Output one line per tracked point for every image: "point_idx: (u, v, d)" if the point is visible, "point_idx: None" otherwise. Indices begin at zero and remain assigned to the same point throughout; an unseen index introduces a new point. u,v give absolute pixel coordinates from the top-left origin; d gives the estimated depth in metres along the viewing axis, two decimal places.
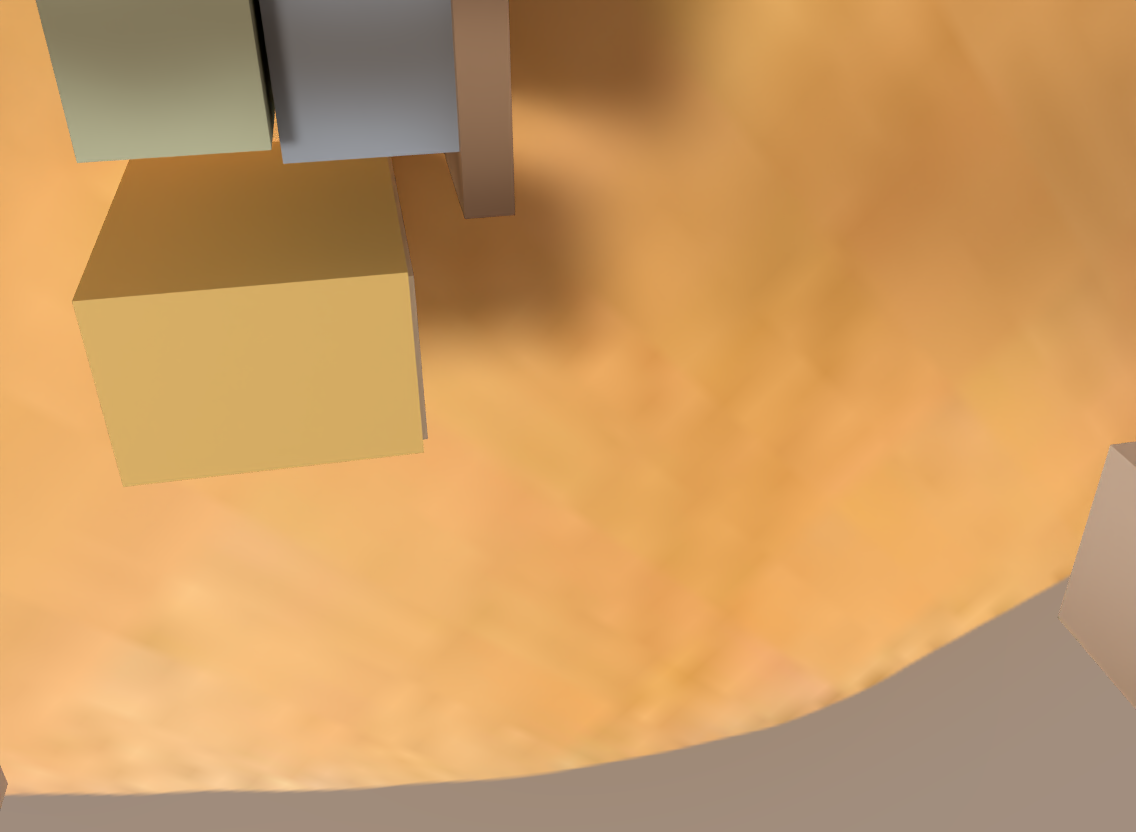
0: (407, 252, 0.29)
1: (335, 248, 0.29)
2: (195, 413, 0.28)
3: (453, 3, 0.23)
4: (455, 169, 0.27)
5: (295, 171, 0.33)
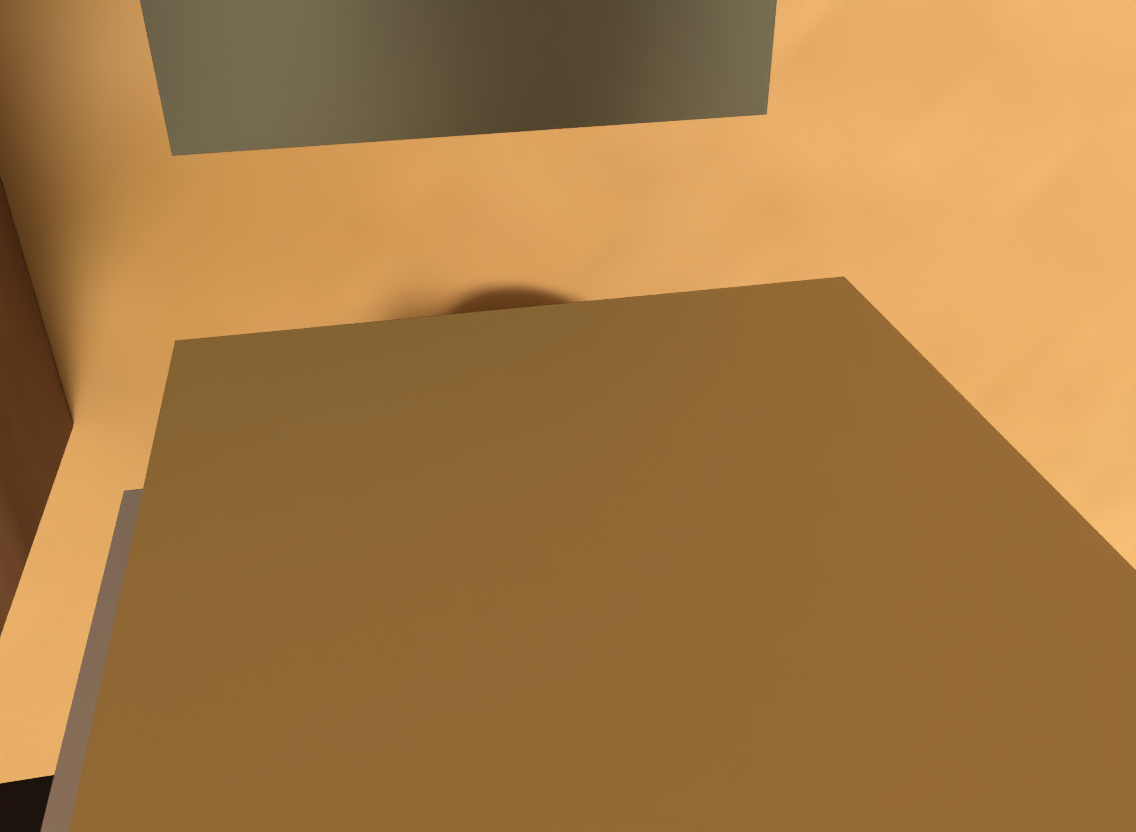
0: None
1: None
2: None
3: None
4: None
5: (694, 431, 0.11)
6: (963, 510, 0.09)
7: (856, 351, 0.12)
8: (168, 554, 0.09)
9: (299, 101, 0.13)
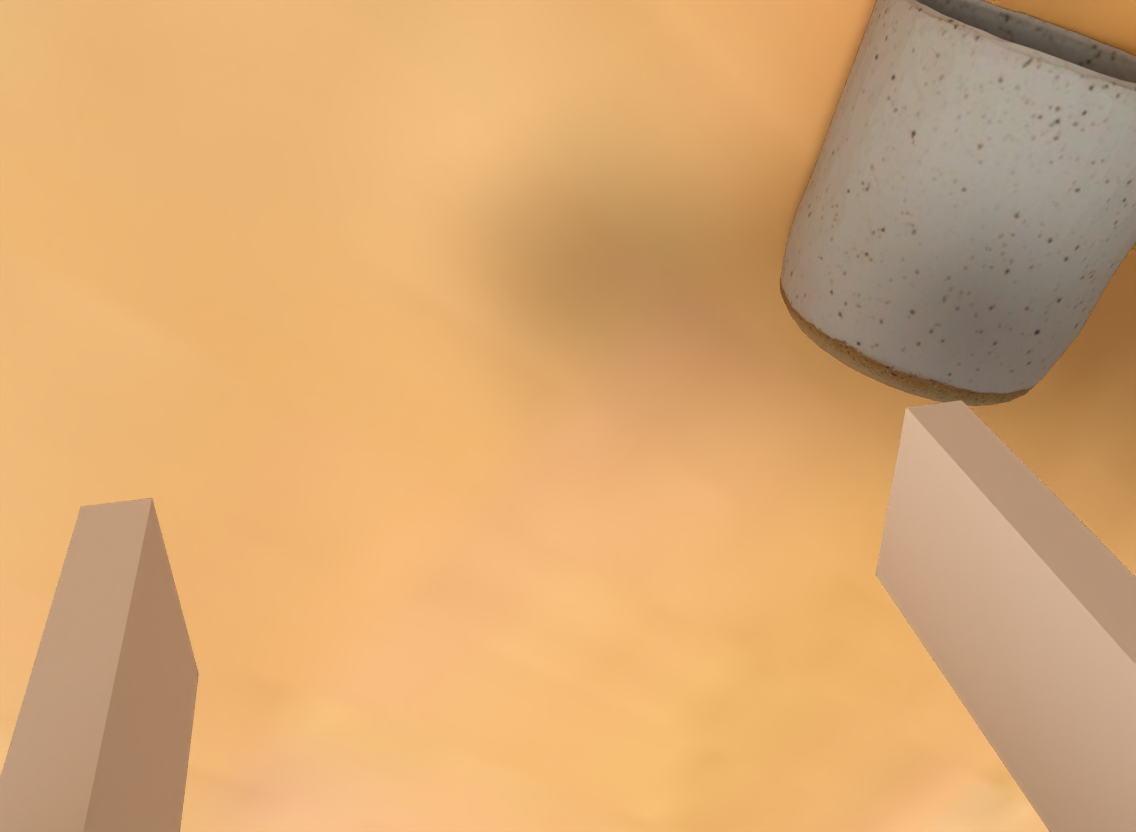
0: None
1: None
2: None
3: None
4: None
5: None
6: None
7: None
8: None
9: None
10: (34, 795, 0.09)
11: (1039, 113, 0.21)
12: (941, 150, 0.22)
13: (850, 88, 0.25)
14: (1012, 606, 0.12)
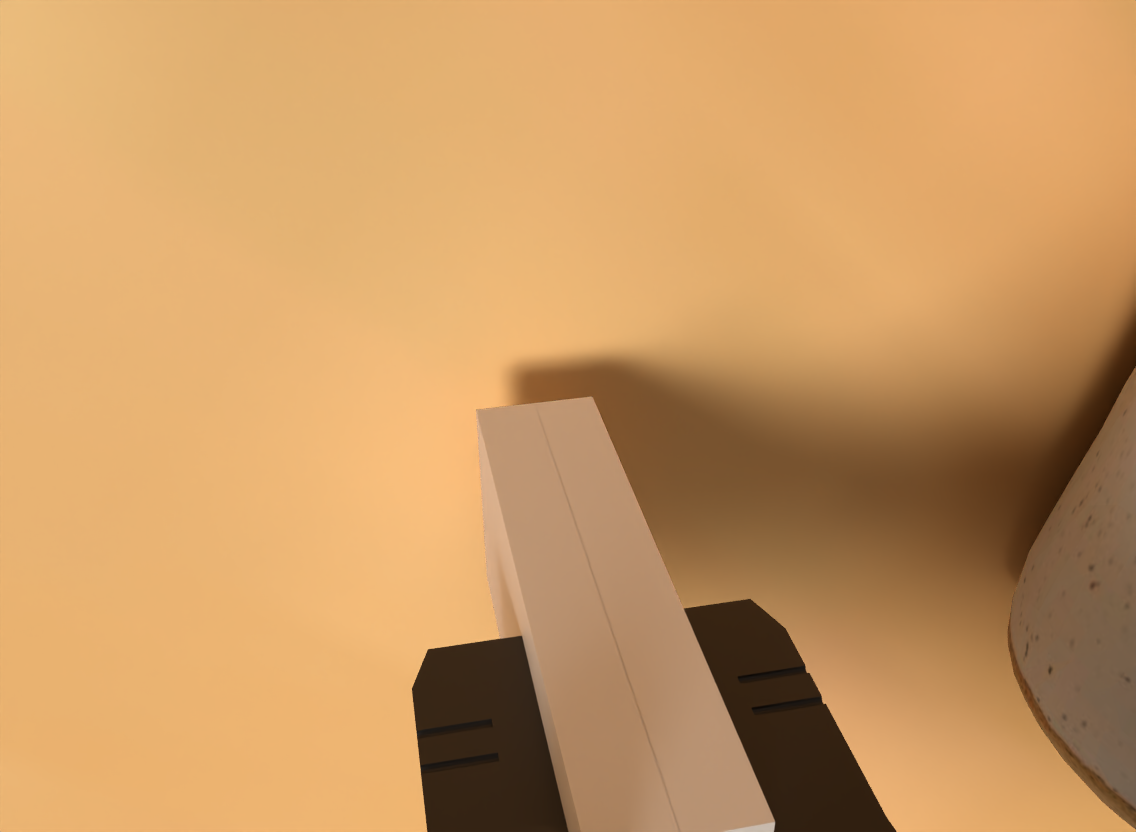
0: None
1: None
2: None
3: None
4: None
5: None
6: None
7: None
8: None
9: None
10: (562, 622, 0.10)
11: None
12: None
13: None
14: None
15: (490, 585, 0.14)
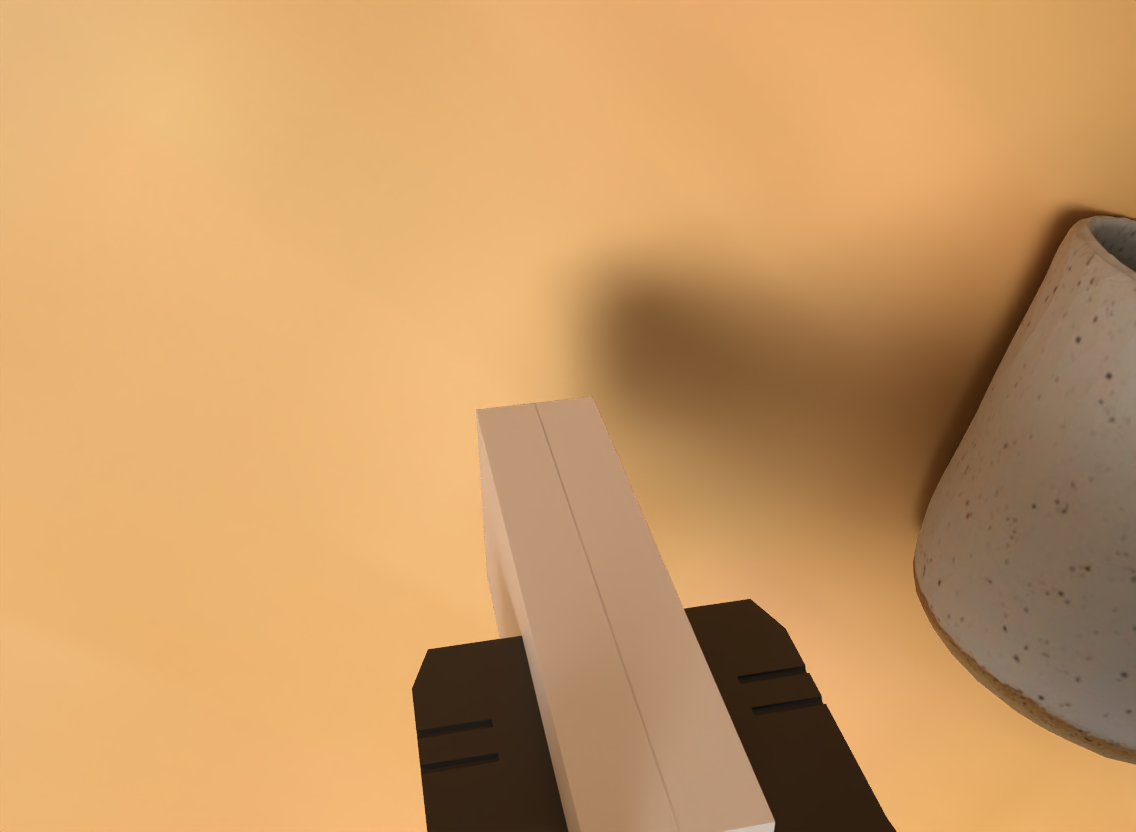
0: None
1: None
2: None
3: None
4: None
5: None
6: None
7: None
8: None
9: None
10: (562, 622, 0.10)
11: None
12: None
13: (1031, 365, 0.19)
14: None
15: (490, 585, 0.14)
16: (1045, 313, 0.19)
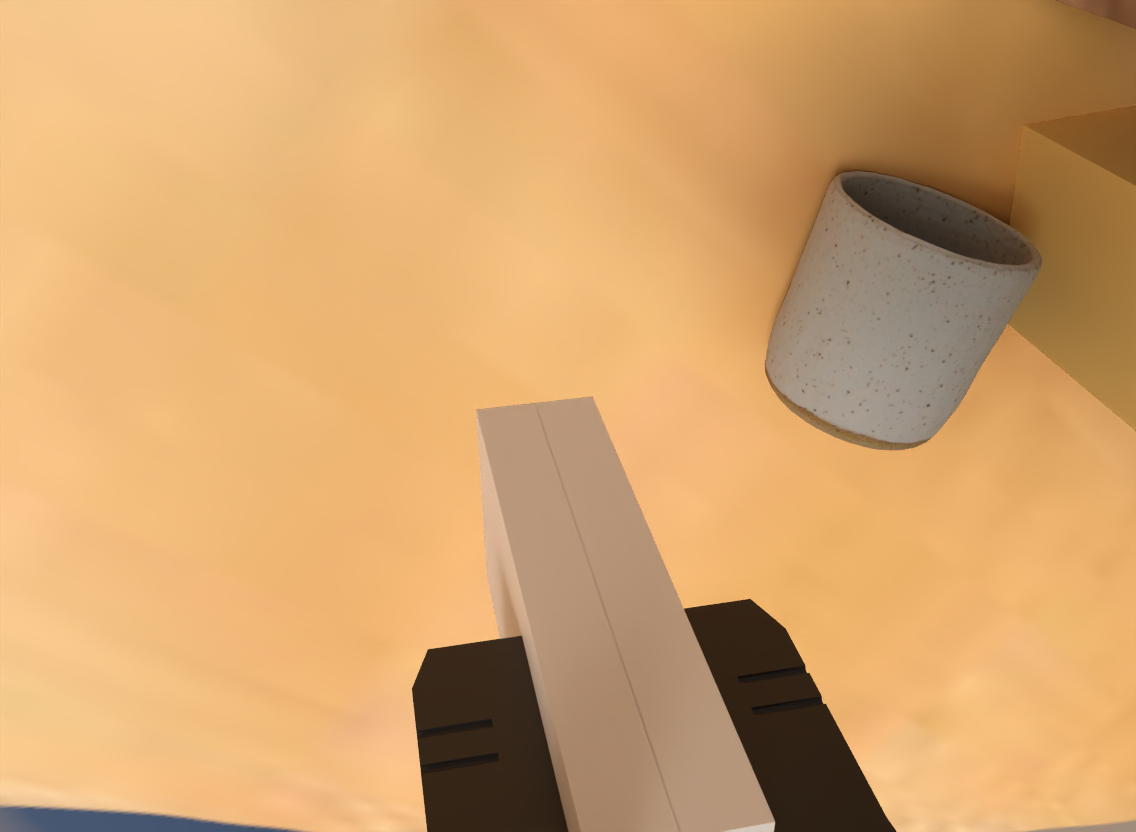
0: None
1: None
2: None
3: None
4: None
5: None
6: None
7: None
8: None
9: None
10: (562, 621, 0.10)
11: (922, 276, 0.35)
12: (864, 294, 0.36)
13: (810, 245, 0.38)
14: None
15: (490, 585, 0.14)
16: (817, 219, 0.38)
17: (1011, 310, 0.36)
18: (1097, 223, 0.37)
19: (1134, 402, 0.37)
